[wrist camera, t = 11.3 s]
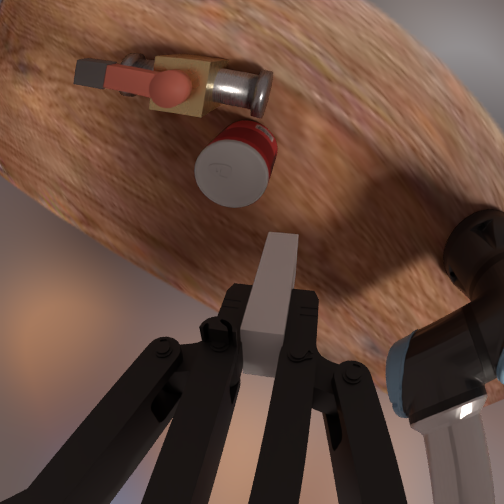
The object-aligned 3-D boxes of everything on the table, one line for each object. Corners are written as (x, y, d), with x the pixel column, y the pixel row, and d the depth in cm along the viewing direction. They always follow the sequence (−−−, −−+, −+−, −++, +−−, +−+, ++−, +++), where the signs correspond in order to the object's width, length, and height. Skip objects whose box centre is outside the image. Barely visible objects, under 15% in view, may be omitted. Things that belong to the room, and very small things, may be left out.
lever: (196, 74, 28) (189, 75, 27) (186, 108, 31) (180, 112, 29) (88, 54, 28) (77, 55, 26) (83, 84, 30) (72, 88, 28)
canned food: (219, 117, 40) (191, 140, 31) (279, 120, 39) (269, 143, 30) (220, 170, 44) (195, 205, 35) (277, 174, 43) (266, 211, 34)
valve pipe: (275, 68, 35) (266, 72, 28) (264, 114, 38) (253, 130, 31) (142, 50, 35) (107, 54, 28) (137, 93, 39) (103, 105, 32)
